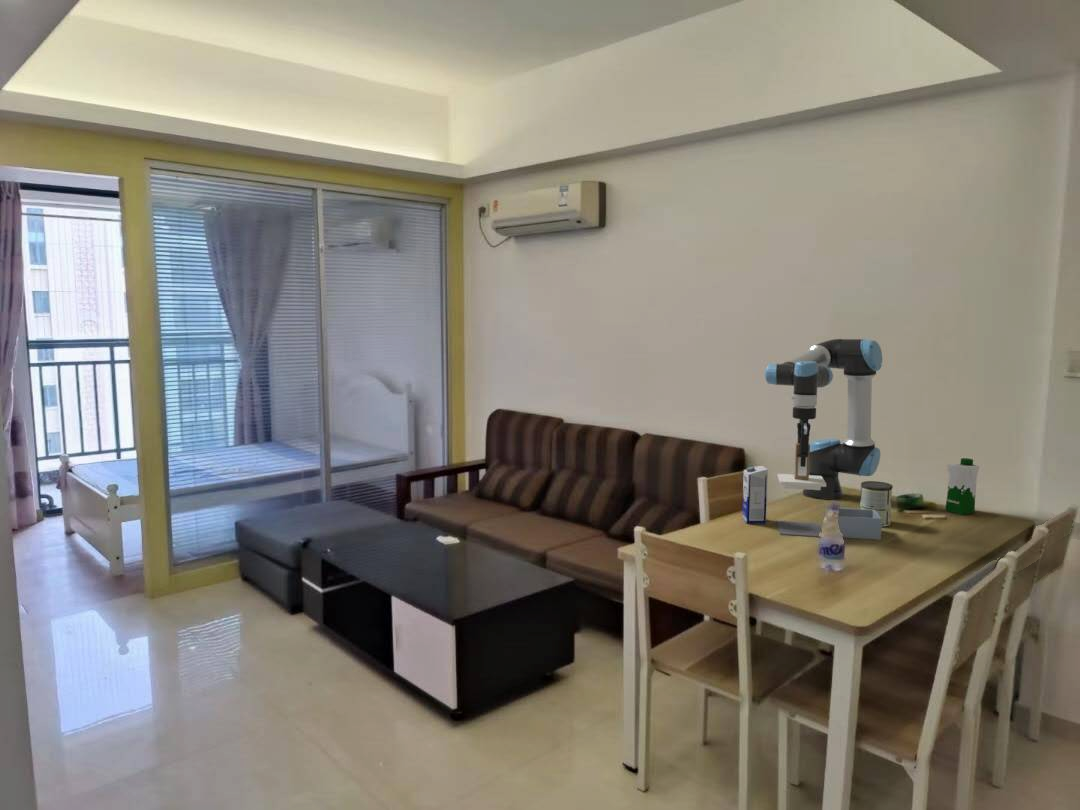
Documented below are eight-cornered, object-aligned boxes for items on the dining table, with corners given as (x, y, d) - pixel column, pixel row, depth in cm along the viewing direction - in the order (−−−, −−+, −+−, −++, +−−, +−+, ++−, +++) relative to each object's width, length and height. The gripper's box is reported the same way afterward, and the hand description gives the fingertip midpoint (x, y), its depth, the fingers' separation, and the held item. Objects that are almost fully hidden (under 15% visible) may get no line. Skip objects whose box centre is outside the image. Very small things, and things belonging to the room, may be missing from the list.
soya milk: (978, 513, 274) (982, 460, 272) (962, 516, 271) (966, 462, 268) (956, 507, 282) (960, 456, 280) (940, 510, 279) (944, 458, 276)
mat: (776, 521, 264) (776, 520, 264) (817, 524, 260) (817, 523, 260) (780, 534, 248) (780, 533, 248) (823, 537, 245) (823, 536, 245)
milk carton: (765, 523, 261) (767, 468, 259) (746, 523, 261) (748, 468, 259) (760, 518, 268) (762, 464, 266) (741, 518, 268) (743, 464, 266)
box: (830, 526, 258) (831, 507, 257) (873, 529, 254) (874, 509, 253) (835, 536, 246) (836, 516, 245) (880, 539, 243) (881, 519, 242)
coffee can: (854, 518, 268) (856, 480, 266) (884, 519, 267) (886, 481, 265) (864, 526, 258) (866, 487, 256) (894, 527, 257) (897, 487, 255)
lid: (777, 480, 260) (779, 440, 258) (821, 483, 257) (823, 442, 255) (780, 488, 248) (781, 446, 246) (825, 491, 245) (828, 448, 243)
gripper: (790, 403, 258) (788, 469, 261) (795, 409, 242) (792, 478, 245) (813, 404, 256) (810, 470, 259) (819, 410, 240) (815, 480, 243)
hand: (801, 474), depth 252 cm, fingers closed on lid, 3 cm apart
